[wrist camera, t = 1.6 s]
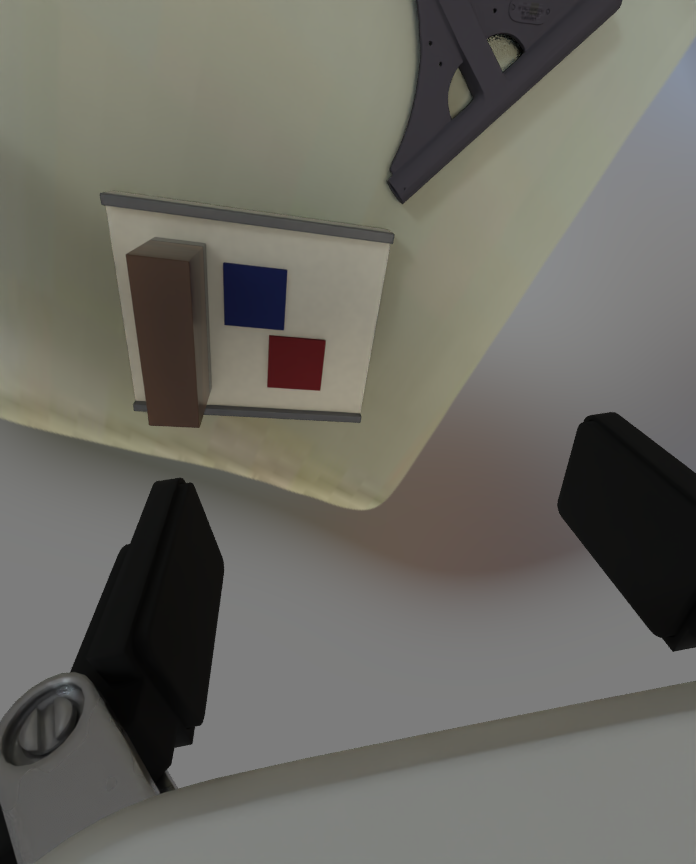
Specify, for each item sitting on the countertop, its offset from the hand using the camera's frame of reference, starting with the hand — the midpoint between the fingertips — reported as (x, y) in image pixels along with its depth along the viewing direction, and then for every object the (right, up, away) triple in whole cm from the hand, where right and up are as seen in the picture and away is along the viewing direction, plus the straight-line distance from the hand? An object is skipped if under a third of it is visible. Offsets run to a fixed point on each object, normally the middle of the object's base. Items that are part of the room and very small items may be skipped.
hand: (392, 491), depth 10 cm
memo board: (-8, +10, +20) cm, 23 cm away
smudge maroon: (-5, +7, +20) cm, 22 cm away
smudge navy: (-7, +10, +17) cm, 21 cm away
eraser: (-12, +9, +18) cm, 23 cm away
